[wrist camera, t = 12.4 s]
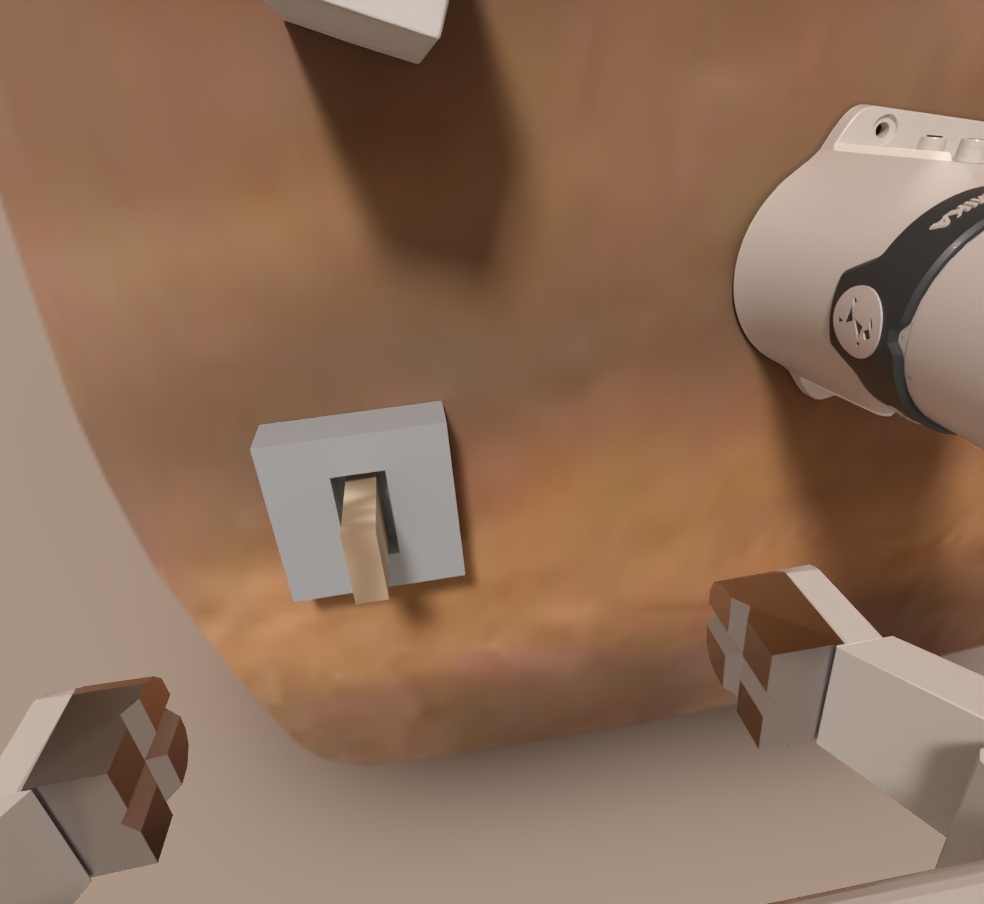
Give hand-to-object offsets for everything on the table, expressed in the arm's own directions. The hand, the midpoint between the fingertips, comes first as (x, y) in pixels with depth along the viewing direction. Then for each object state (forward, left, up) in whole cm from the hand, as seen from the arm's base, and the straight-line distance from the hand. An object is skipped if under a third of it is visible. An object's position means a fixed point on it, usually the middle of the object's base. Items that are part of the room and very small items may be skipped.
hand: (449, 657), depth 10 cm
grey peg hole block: (+5, +16, -34) cm, 38 cm away
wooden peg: (+4, +16, -33) cm, 37 cm away
